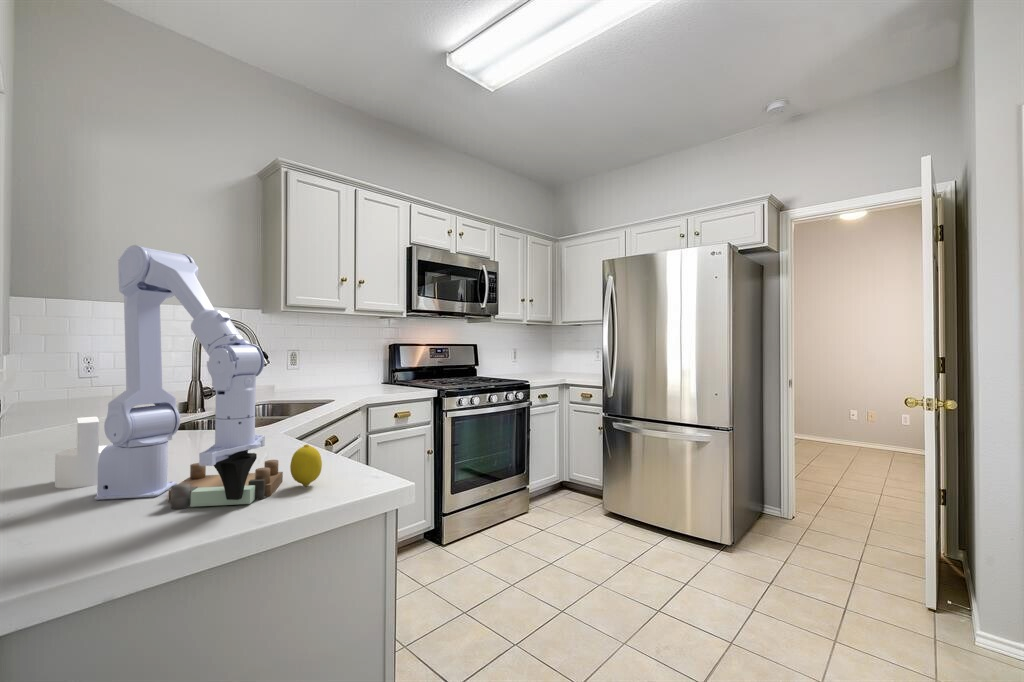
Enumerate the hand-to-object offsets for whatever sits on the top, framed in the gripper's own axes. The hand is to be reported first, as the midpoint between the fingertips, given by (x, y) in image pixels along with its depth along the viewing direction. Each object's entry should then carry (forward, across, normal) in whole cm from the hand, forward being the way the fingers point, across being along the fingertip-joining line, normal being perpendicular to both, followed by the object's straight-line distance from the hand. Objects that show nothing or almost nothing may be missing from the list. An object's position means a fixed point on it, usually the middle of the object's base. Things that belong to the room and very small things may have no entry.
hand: (234, 498), depth 78 cm
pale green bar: (+1, +1, +3) cm, 3 cm away
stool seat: (+1, +6, +6) cm, 9 cm away
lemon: (+2, +12, -6) cm, 14 cm away
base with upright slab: (+2, +13, +37) cm, 40 cm away
